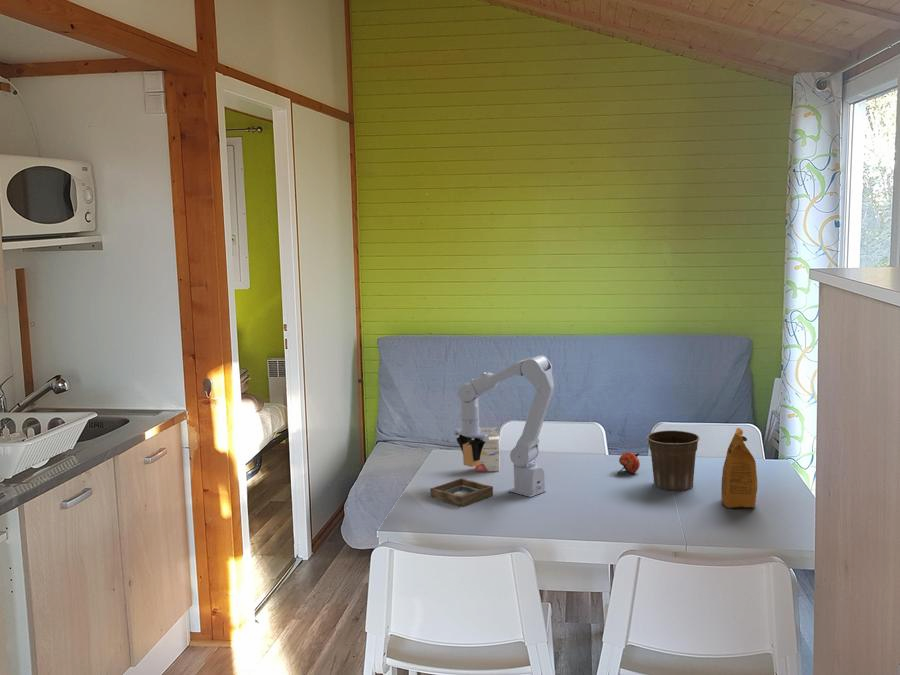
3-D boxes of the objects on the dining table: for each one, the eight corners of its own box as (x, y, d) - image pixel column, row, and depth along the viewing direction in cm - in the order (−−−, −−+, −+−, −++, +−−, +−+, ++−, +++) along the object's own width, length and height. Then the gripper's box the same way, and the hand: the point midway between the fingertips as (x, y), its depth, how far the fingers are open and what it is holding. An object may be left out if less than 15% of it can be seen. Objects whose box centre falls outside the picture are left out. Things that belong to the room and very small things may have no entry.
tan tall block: (480, 464, 281) (479, 440, 280) (472, 467, 278) (471, 442, 277) (472, 462, 284) (471, 438, 283) (463, 464, 281) (462, 440, 280)
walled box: (493, 495, 270) (492, 486, 270) (461, 506, 260) (461, 497, 260) (461, 487, 280) (461, 478, 280) (430, 497, 270) (430, 488, 270)
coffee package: (755, 497, 258) (755, 426, 256) (758, 511, 247) (758, 437, 244) (720, 496, 261) (720, 426, 258) (722, 509, 249) (722, 436, 246)
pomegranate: (625, 483, 285) (648, 464, 284) (611, 466, 285) (634, 447, 284) (621, 479, 292) (644, 460, 292) (608, 462, 292) (630, 444, 292)
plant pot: (679, 497, 262) (679, 445, 260) (636, 485, 274) (636, 437, 272) (709, 485, 272) (709, 436, 270) (667, 475, 284) (667, 428, 282)
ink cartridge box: (475, 471, 297) (473, 430, 295) (476, 467, 302) (474, 427, 300) (499, 471, 296) (498, 430, 294) (500, 467, 301) (499, 427, 299)
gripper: (494, 419, 277) (496, 460, 278) (463, 413, 287) (465, 452, 289) (479, 423, 272) (481, 465, 273) (448, 417, 282) (450, 457, 284)
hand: (471, 459), depth 281 cm, fingers closed on tan tall block, 4 cm apart
